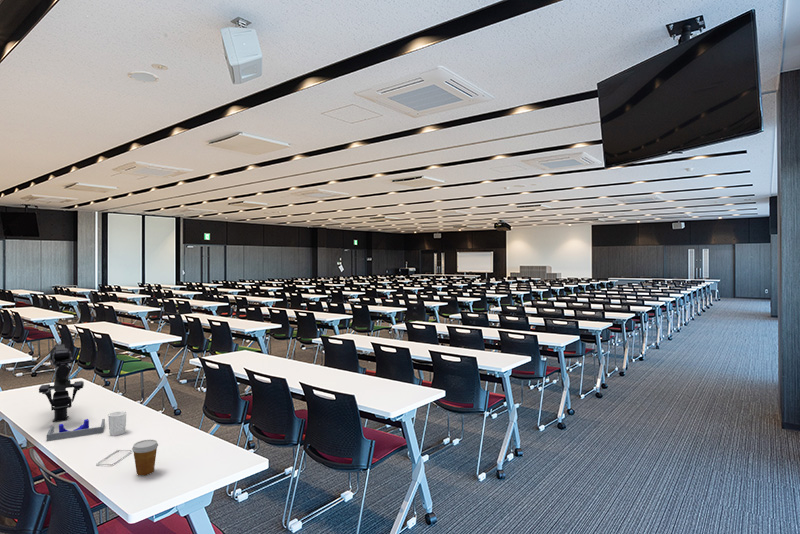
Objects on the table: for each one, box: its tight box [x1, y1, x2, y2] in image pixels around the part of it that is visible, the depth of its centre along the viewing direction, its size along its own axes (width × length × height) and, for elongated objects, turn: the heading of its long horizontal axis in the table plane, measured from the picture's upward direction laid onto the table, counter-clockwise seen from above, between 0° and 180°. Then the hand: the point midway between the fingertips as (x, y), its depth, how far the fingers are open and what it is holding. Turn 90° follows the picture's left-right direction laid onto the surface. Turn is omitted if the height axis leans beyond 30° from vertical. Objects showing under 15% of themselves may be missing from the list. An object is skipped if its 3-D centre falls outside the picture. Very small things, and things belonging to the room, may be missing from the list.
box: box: [46, 418, 106, 442], centre depth 239 cm, size 14×23×3 cm, turn 119°
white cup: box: [107, 410, 127, 437], centre depth 238 cm, size 8×8×10 cm
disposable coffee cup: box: [131, 439, 159, 476], centre depth 195 cm, size 10×10×12 cm
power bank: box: [95, 449, 133, 467], centre depth 208 cm, size 7×1×15 cm
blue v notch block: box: [58, 418, 90, 433], centre depth 238 cm, size 12×4×6 cm, turn 132°
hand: (62, 403), depth 248 cm, fingers open, 9 cm apart
